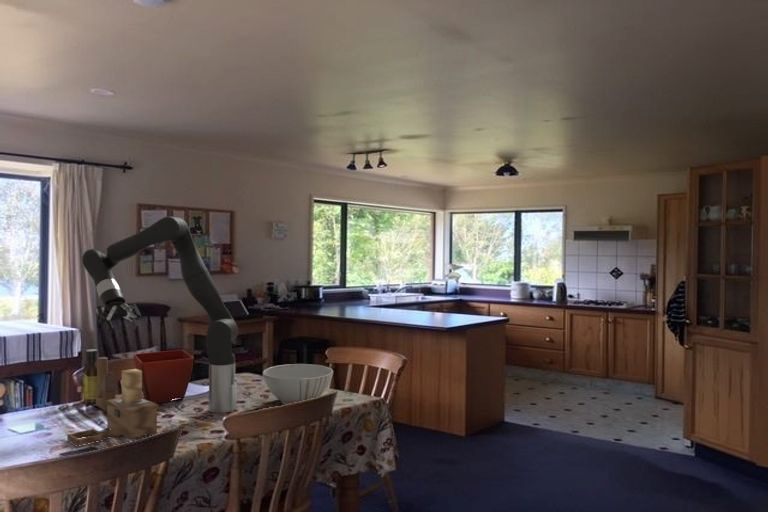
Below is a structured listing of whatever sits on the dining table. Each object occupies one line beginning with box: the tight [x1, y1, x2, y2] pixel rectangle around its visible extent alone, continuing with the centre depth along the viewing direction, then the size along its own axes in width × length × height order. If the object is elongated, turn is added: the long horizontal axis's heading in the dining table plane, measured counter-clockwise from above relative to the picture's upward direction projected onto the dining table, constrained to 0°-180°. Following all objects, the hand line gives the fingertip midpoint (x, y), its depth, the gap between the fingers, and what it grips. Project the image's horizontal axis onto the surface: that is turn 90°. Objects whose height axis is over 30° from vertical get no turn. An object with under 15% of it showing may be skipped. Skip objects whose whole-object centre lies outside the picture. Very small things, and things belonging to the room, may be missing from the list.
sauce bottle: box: [82, 348, 98, 404], centre depth 233 cm, size 6×6×20 cm
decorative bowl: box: [262, 363, 334, 405], centre depth 236 cm, size 27×27×12 cm
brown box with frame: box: [66, 396, 159, 447], centre depth 195 cm, size 23×17×10 cm
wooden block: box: [95, 356, 116, 413], centre depth 225 cm, size 4×11×18 cm, turn 42°
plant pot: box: [133, 349, 194, 404], centre depth 239 cm, size 19×19×17 cm
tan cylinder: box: [121, 368, 143, 404], centre depth 199 cm, size 5×5×10 cm
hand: (124, 329), depth 213 cm, fingers open, 8 cm apart
